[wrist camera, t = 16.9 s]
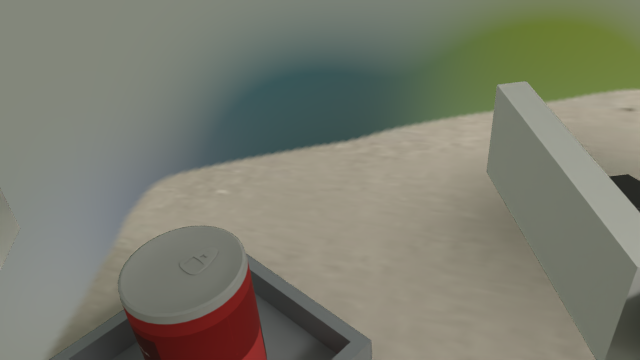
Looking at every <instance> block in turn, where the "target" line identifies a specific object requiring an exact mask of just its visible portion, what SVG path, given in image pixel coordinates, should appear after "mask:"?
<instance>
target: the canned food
mask: <svg viewBox="0 0 640 360" xmlns="http://www.w3.org/2000/svg"><path fill="white" fill-rule="evenodd" d="M118 291H119V294H120V300H121V302H122V305H123V307H124V310H125V313H126V316H127V318H128V321H129V323H130V325H131V328H132V330H133V333H134V335H135V338H136V340H137V342H138V345H139V347H140V350H141V352H142V354H143V357H144V359H145V360H267V353H266V348H265V343H264V338H263V333H262V328H261V323H260V317H259V312H258V307H257V302H256V297H255V292H254V287H253V282H252V277H251V272H250V268H249V264H248V259H247V256H246V253H245V250H244V247H243V245H242V243H241V242H240V241H239V239H238V238H237V237H236V236H234V235H233V234H232V233H230V232H228V231H226V230H224V229H220V228H217V227H211V226H190V227H183V228H179V229H175V230H172V231H169V232H166V233H164V234H162V235H159V236H157V237H155V238H154V239H152V240H150V241H148V242H147V243H145V244H144V245H143V246H141V247H140V248H139V249H138V250H137V251H135V252H134V253H133V254H132V255H131V256H130V258H129V259H128V260H127V262H126V263H125V264H124V266H123V268H122V270H121V272H120V275H119V280H118Z"/></svg>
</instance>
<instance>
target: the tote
mask: <svg viewBox="0 0 640 360" xmlns="http://www.w3.org/2000/svg"><path fill="white" fill-rule="evenodd" d="M246 256H247V259H248V264H249V268H250V272H251V277H252V282H253V287H254V292H255V297H256V302H257V307H258V312H259V317H260V323H261V328H262V333H263V338H264V343H265V348H266V353H267V360H372V347H371V340H370V339H368V338H367V337H366V336H364V335H363V334H361V333H360V332H358V331H357V330H355V329H354V328H353V327H351V326H350V325H348V324H347V323H345V322H344V321H343V320H341V319H340V318H338V317H337V316H335V315H334V314H332V313H331V312H330V311H328V310H327V309H325V308H324V307H322V306H321V305H320V304H318V303H317V302H315V301H314V300H312V299H311V298H309V297H308V296H307V295H305V294H304V293H302V292H301V291H299V290H298V289H297V288H295V287H294V286H292V285H291V284H289V283H288V282H286V281H285V280H284V279H282V278H281V277H279V276H278V275H276V274H275V273H273V272H272V271H271V270H269V269H268V268H266V267H265V266H263V265H262V264H261V263H259V262H258V261H256V260H255V259H253V258H252V257H250V256H249V255H248V254H246ZM49 360H145V359H144V357H143V354H142V352H141V350H140V347H139V345H138V342H137V340H136V338H135V335H134V333H133V330H132V328H131V325H130V323H129V321H128V318H127V316H126V313H125V310H122V311H121V312H119V313H118V314H116V315H115V316H113V317H112V318H110V319H109V320H107V321H106V322H104V323H103V324H101V325H100V326H99V327H97V328H96V329H94V330H93V331H91V332H90V333H88V334H87V335H85V336H84V337H82V338H81V339H79V340H78V341H76V342H75V343H73V344H72V345H70V346H69V347H67V348H66V349H64V350H63V351H61V352H60V353H58V354H57V355H55V356H54V357H52V358H51V359H49Z"/></svg>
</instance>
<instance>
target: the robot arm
mask: <svg viewBox="0 0 640 360" xmlns="http://www.w3.org/2000/svg"><path fill="white" fill-rule="evenodd" d="M487 173H488V175H489V177H490V178H491V180H492V182H493V183H494V185H495V187H496V189H497V190H498V192H499V194H500V195H501V197H502V199H503V201H504V202H505V204H506V206H507V207H508V209H509V211H510V213H511V214H512V216H513V218H514V219H515V221H516V223H517V225H518V226H519V228H520V230H521V231H522V233H523V235H524V237H525V238H526V240H527V242H528V243H529V245H530V247H531V249H532V250H533V252H534V254H535V255H536V257H537V259H538V261H539V262H540V264H541V266H542V268H543V269H544V271H545V273H546V274H547V276H548V278H549V280H550V281H551V283H552V285H553V286H554V288H555V290H556V292H557V293H558V295H559V297H560V298H561V300H562V302H563V304H564V305H565V307H566V309H567V310H568V312H569V314H570V316H571V317H572V319H573V321H574V322H575V324H576V326H577V328H578V329H579V331H580V333H581V334H582V336H583V338H584V340H585V341H586V343H587V345H588V347H589V348H590V350H591V352H592V353H593V355H594V357H595V359H596V360H640V181H639V180H637V179H635V178H633V177H632V176H630V175H628V174H627V175H619V176H611V177H609V176H608V175H607V174H606V173H605V172H604V170H603V169H602V168H601V167H600V166H599V165H598V164H597V162H596V161H595V160H594V159H593V158H592V157H591V155H590V154H589V153H588V152H587V151H586V150H585V149H584V147H583V146H582V145H581V144H580V143H579V142H578V140H577V139H576V138H575V137H574V136H573V135H572V134H571V132H570V131H569V130H568V129H567V128H566V127H565V125H564V124H563V123H562V122H561V121H560V120H559V119H558V117H557V116H556V115H555V114H554V113H553V112H552V110H551V109H550V108H549V107H548V106H547V105H546V104H545V102H544V101H543V100H542V99H541V98H540V97H539V96H538V94H537V93H536V92H535V91H534V90H533V89H532V88H531V86H530V85H529V84H528V83H527V82H516V83H508V84H499V85H497V91H496V100H495V107H494V115H493V123H492V132H491V140H490V148H489V156H488V165H487ZM19 230H20V227H19V225H18V223H17V221H16V219H15V217H14V215H13V213H12V211H11V209H10V207H9V205H8V203H7V201H6V199H5V197H4V195H3V193H2V191H1V189H0V270H1V268H2V266H3V264H4V262H5V260H6V257H7V255H8V253H9V251H10V249H11V247H12V245H13V243H14V241H15V239H16V236H17V234H18V232H19Z"/></svg>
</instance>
